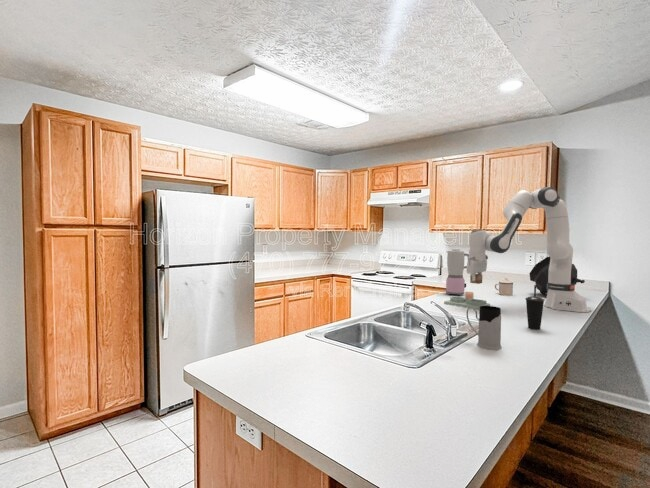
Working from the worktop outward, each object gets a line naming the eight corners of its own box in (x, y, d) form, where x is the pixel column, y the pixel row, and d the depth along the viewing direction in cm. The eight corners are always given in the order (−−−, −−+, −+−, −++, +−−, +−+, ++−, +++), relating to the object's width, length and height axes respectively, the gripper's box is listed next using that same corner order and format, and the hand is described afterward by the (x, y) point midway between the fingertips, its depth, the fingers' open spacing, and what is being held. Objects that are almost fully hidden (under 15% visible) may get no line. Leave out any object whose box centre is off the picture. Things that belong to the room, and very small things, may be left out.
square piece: (482, 282, 210) (482, 274, 210) (478, 283, 207) (478, 275, 207) (473, 282, 214) (474, 273, 214) (470, 282, 211) (470, 274, 210)
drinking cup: (526, 325, 169) (527, 283, 168) (545, 328, 164) (546, 285, 164) (523, 328, 163) (524, 285, 163) (542, 331, 158) (543, 287, 158)
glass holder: (494, 351, 132) (495, 311, 131) (460, 341, 143) (460, 304, 143) (506, 347, 137) (507, 308, 137) (472, 337, 149) (473, 302, 148)
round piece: (474, 300, 231) (474, 292, 231) (471, 301, 227) (471, 293, 227) (467, 298, 235) (467, 291, 234) (463, 299, 231) (463, 292, 231)
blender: (445, 295, 246) (446, 249, 245) (445, 292, 258) (446, 248, 257) (470, 296, 241) (471, 249, 240) (469, 294, 253) (469, 249, 252)
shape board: (490, 306, 212) (490, 300, 212) (480, 309, 202) (480, 303, 202) (454, 300, 228) (454, 295, 227) (444, 303, 218) (444, 298, 218)
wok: (545, 293, 229) (521, 267, 247) (553, 310, 246) (531, 285, 264) (587, 269, 222) (559, 244, 240) (592, 289, 239) (566, 264, 257)
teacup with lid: (514, 294, 251) (515, 278, 250) (510, 296, 244) (510, 279, 244) (496, 292, 259) (497, 276, 259) (492, 294, 253) (492, 277, 252)
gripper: (474, 258, 200) (474, 282, 201) (489, 256, 215) (488, 279, 215) (463, 257, 205) (463, 281, 205) (478, 255, 219) (478, 278, 220)
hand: (476, 280), depth 210 cm, fingers closed on square piece, 5 cm apart
